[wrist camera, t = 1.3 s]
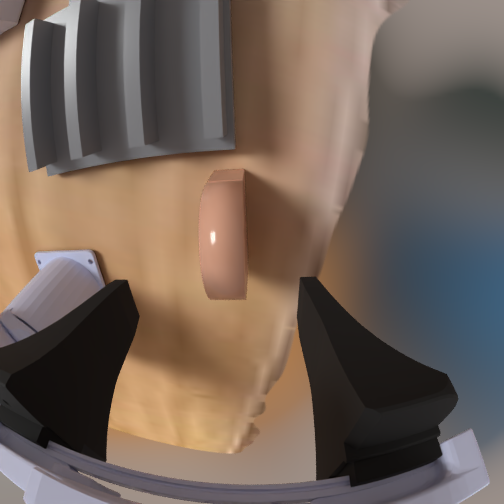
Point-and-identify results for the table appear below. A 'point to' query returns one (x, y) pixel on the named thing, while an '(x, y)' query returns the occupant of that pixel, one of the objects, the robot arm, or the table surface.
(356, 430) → the robot arm
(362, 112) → the table surface
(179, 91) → the dish rack
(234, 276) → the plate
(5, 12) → the charger
